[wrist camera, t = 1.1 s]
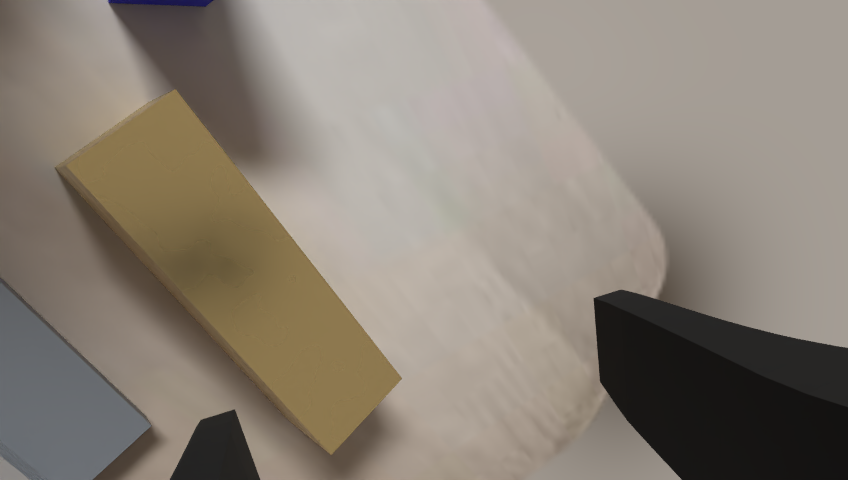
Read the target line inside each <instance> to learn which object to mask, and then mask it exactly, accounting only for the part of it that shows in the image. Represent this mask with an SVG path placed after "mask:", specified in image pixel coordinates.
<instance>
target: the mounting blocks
mask: <svg viewBox="0 0 848 480" xmlns="http://www.w3.org/2000/svg"><path fill="white" fill-rule="evenodd" d="M0 480H47V479H46V478H44V477H43V476H42V475H41V474H40V473H38V472H37V471H36V470H35V469H34V468H32V467H31V466H30V465H29V464H27V463H26V462H25V461H24V460H23V459H21V458H20V457H19V456H18V455H16V454H15V453H14V452H13V451H12V450H10V449H9V448H8V447H7V446H6V445H4V444H3V443H2V442H1V441H0Z"/></svg>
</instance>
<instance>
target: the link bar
mask: <svg viewBox="0 0 848 480" xmlns="http://www.w3.org/2000/svg"><path fill="white" fill-rule="evenodd" d="M55 168H56V169H57V171H58V172H59V173H60V174H61V175H62V176H63V177H64V178H65V179H66V180H67V181H68V182H69V184H70V185H71V186H72V187H73V188H74V189H75V190H76V191H77V192H78V193H79V194H80V195H81V196H82V198H83V199H84V200H85V201H86V202H87V203H88V204H89V205H90V206H91V207H92V208H93V209H94V211H95V212H96V213H97V214H98V215H99V216H100V217H101V218H102V219H103V220H104V221H105V222H106V223H107V225H108V226H109V227H110V228H111V229H112V230H113V231H114V232H115V233H116V234H117V235H118V236H119V238H120V239H121V240H122V241H123V242H124V243H125V244H126V245H127V246H128V247H129V248H130V249H131V251H132V252H133V253H134V254H135V255H136V256H137V257H138V258H139V259H140V260H141V261H142V262H143V263H144V265H145V266H146V267H147V268H148V269H149V270H150V271H151V272H152V273H153V274H154V275H155V276H156V278H157V279H158V280H159V281H160V282H161V283H162V284H163V285H164V286H165V287H166V288H167V289H168V290H169V292H170V293H171V294H172V295H173V296H174V297H175V298H176V299H177V300H178V301H179V302H180V303H181V305H182V306H183V307H184V308H185V309H186V310H187V311H188V312H189V313H190V314H191V315H192V316H193V318H194V319H195V320H196V321H197V322H198V323H199V324H200V325H201V326H202V327H203V328H204V329H205V330H206V332H207V333H208V334H209V335H210V336H211V337H212V338H213V339H214V340H215V341H216V342H217V343H218V345H219V346H220V347H221V348H222V349H223V350H224V351H225V352H226V353H227V354H228V355H229V356H230V357H231V359H232V360H233V361H234V362H235V363H236V364H237V365H238V366H239V367H240V368H241V369H242V370H243V372H244V373H245V374H246V375H247V376H248V377H249V378H250V379H251V380H252V381H253V382H254V383H255V384H256V386H257V387H258V388H259V389H260V390H261V391H262V392H263V393H264V394H265V395H266V396H267V397H268V399H269V400H270V401H271V402H272V403H273V404H274V405H275V406H276V407H277V408H278V409H279V410H280V412H281V413H282V414H283V415H284V416H285V417H286V418H287V419H288V420H289V421H290V422H291V423H293V424H294V425H295V426H296V427H297V428H299V429H300V430H301V431H302V432H303V433H305V434H306V435H307V436H308V437H310V438H311V439H312V440H313V441H314V442H316V443H317V444H318V445H319V446H320V447H322V448H323V449H324V450H325V451H327V452H328V453H329V454H330V455H332V454H333V453H334V452H335V451H336V449H337V448H338V447H339V446H340V445H341V444H342V443H343V442H344V441H345V440H346V439H347V438H348V436H349V435H350V434H351V433H352V432H353V431H354V430H355V429H356V428H357V427H358V426H359V425H360V423H361V422H362V421H363V420H364V419H365V418H366V417H367V416H368V415H369V414H370V413H371V412H372V411H373V409H374V408H375V407H376V406H377V405H378V404H379V403H380V402H381V401H382V400H383V399H384V398H385V396H386V395H387V394H388V393H389V392H390V391H391V390H392V389H393V388H394V387H395V386H396V385H397V384H398V382H399V381H400V380H401V379H402V378H401V377H400V375H399V374H398V373H397V371H396V370H395V369H394V368H393V366H392V365H391V364H390V363H389V361H388V360H387V359H386V357H385V356H384V355H383V354H382V352H381V351H380V350H379V348H378V347H377V346H376V345H375V343H374V342H373V341H372V340H371V338H370V337H369V336H368V334H367V333H366V332H365V331H364V329H363V328H362V327H361V325H360V324H359V323H358V322H357V320H356V319H355V318H354V317H353V315H352V314H351V313H350V311H349V310H348V309H347V308H346V306H345V305H344V304H343V302H342V301H341V300H340V299H339V297H338V296H337V295H336V294H335V292H334V291H333V290H332V288H331V287H330V286H329V285H328V283H327V282H326V281H325V279H324V278H323V277H322V276H321V274H320V273H319V272H318V271H317V269H316V268H315V267H314V265H313V264H312V263H311V262H310V260H309V259H308V258H307V256H306V255H305V254H304V253H303V251H302V250H301V249H300V248H299V246H298V245H297V244H296V242H295V241H294V240H293V239H292V237H291V236H290V235H289V233H288V232H287V231H286V230H285V228H284V227H283V226H282V225H281V223H280V222H279V221H278V219H277V218H276V217H275V216H274V214H273V213H272V212H271V210H270V209H269V208H268V207H267V205H266V204H265V203H264V202H263V200H262V199H261V198H260V196H259V195H258V194H257V193H256V191H255V190H254V189H253V187H252V186H251V185H250V184H249V182H248V181H247V180H246V179H245V177H244V176H243V175H242V173H241V172H240V171H239V170H238V168H237V167H236V166H235V165H234V163H233V162H232V161H231V159H230V158H229V157H228V156H227V154H226V153H225V152H224V150H223V149H222V148H221V147H220V145H219V144H218V143H217V142H216V140H215V139H214V138H213V136H212V135H211V134H210V133H209V131H208V130H207V129H206V127H205V126H204V125H203V124H202V122H201V121H200V120H199V119H198V117H197V116H196V115H195V113H194V112H193V111H192V110H191V108H190V107H189V106H188V104H187V103H186V102H185V101H184V99H183V98H182V97H181V96H180V94H179V93H178V92H177V90H176V89H175V90H173V91H170V92H168V93H166V94H164V95H162V96H160V97H158V98H156V99H154V100H152V101H150V102H148V103H147V104H145V105H144V106H142V107H141V108H140V109H138V110H137V111H135V112H134V113H132V114H131V115H129V116H128V117H127V118H125V119H124V120H122V121H121V122H119V123H118V124H117V125H115V126H114V127H112V128H111V129H109V130H108V131H106V132H105V133H104V134H102V135H101V136H99V137H98V138H96V139H95V140H93V141H92V142H91V143H89V144H88V145H86V146H85V147H83V148H82V149H80V150H79V151H78V152H76V153H75V154H73V155H72V156H70V157H69V158H68V159H66V160H65V161H63V162H62V163H60V164H59V165H57V166H56V167H55Z"/></svg>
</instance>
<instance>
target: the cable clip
mask: <svg viewBox="0 0 848 480" xmlns="http://www.w3.org/2000/svg"><path fill="white" fill-rule="evenodd" d="M212 1H213V0H108V2H109V3H122V4H149V5H177V6H204V7H206V6H207V5H208V4H210V3H211V2H212Z"/></svg>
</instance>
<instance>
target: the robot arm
mask: <svg viewBox="0 0 848 480" xmlns="http://www.w3.org/2000/svg"><path fill="white" fill-rule="evenodd" d="M594 309H595V322H596V335H597V348H598V360H599V373H600V382H601V384H602V385H603V386H604V388H605V389H606V391H607V392H608V394H609V395H610V397H611V398H612V399H613V401H614V402H615V404H616V405H617V407H618V408H619V410H620V411H621V412H622V414H623V415H624V416H625V418H626V419H627V421H628V422H629V423H630V424H631V425H632V426H633V427H634V428H635V430H636V431H637V432H638V433H639V434H640V435H641V436H642V437H643V438H644V439H645V440H646V441H647V443H648V444H649V445H650V446H651V447H652V448H653V449H654V450H655V451H656V453H657V454H658V455H659V456H660V457H661V458H662V459H663V460H664V461H665V462H666V463H667V464H668V465H669V466H670V467H671V468H672V470H673V471H674V472H675V473H676V474H677V475H678V476H679V477H680V478H681V479H682V480H848V348H844V347H838V346H832V345H827V344H822V343H816V342H811V341H806V340H801V339H796V338H791V337H787V336H782V335H778V334H774V333H770V332H765V331H761V330H758V329H754V328H750V327H746V326H742V325H739V324H735V323H732V322H728V321H724V320H721V319H718V318H715V317H711V316H708V315H705V314H701V313H698V312H695V311H692V310H689V309H685V308H682V307H679V306H676V305H673V304H670V303H667V302H663V301H660V300H657V299H654V298H650V297H647V296H644V295H640V294H637V293H633V292H629V291H625V290H618V291H615V292H612V293H609V294H605V295H602V296H599V297H596V298H594ZM170 480H260V478H259V475H258V472H257V470H256V467H255V464H254V461H253V459H252V456H251V453H250V450H249V448H248V445H247V442H246V439H245V436H244V434H243V431H242V428H241V425H240V423H239V420H238V417H237V414H236V412H235V410H232V411H228V412H225V413H222V414H219V415H215V416H212V417H209V418H206V419H203V420H201V421H200V422H199V424H198V425H197V427H196V429H195V431H194V433H193V435H192V437H191V439H190V441H189V443H188V445H187V447H186V449H185V451H184V453H183V455H182V457H181V459H180V461H179V463H178V465H177V467H176V469H175V471H174V473H173V475H172V476H171V478H170Z"/></svg>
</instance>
